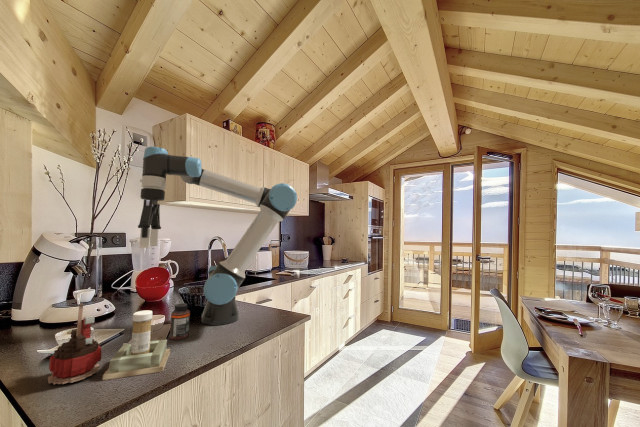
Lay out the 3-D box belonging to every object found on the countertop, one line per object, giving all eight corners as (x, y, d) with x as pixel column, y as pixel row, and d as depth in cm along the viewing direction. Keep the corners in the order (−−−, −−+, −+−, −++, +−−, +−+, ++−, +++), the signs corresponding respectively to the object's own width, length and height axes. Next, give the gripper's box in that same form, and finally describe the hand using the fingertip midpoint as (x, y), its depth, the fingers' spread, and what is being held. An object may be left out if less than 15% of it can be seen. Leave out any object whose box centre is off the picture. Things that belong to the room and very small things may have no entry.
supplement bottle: (170, 335, 95) (172, 303, 96) (189, 333, 97) (190, 301, 98) (168, 341, 89) (170, 307, 90) (188, 338, 92) (189, 305, 93)
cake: (45, 376, 66) (53, 303, 68) (93, 363, 73) (99, 297, 75) (50, 393, 59) (59, 311, 61) (102, 376, 67) (109, 304, 68)
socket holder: (170, 352, 81) (170, 338, 81) (162, 371, 70) (163, 354, 70) (119, 359, 76) (120, 344, 76) (102, 380, 65) (104, 362, 65)
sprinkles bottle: (149, 357, 75) (152, 308, 76) (149, 363, 71) (152, 312, 72) (129, 361, 73) (133, 311, 74) (128, 368, 69) (132, 315, 70)
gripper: (149, 193, 107) (145, 245, 106) (131, 182, 84) (125, 248, 82) (170, 194, 110) (166, 245, 108) (158, 184, 87) (153, 248, 85)
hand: (149, 246), depth 95 cm, fingers open, 13 cm apart
